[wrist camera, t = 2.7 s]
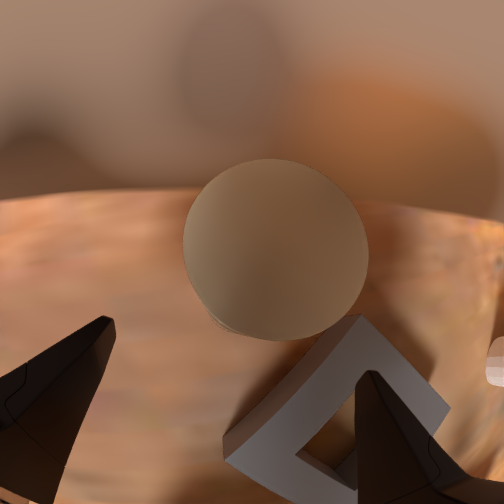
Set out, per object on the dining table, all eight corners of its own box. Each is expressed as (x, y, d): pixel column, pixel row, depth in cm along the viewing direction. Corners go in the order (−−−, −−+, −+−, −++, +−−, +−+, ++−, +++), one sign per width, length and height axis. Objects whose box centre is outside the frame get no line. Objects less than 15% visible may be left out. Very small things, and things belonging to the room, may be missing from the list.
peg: (283, 300, 20) (395, 243, 7) (239, 346, 18) (287, 382, 5) (238, 257, 20) (274, 131, 7) (193, 301, 19) (143, 239, 6)
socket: (421, 401, 18) (450, 408, 14) (330, 504, 15) (348, 527, 11) (335, 317, 20) (361, 313, 16) (222, 436, 16) (224, 460, 12)
